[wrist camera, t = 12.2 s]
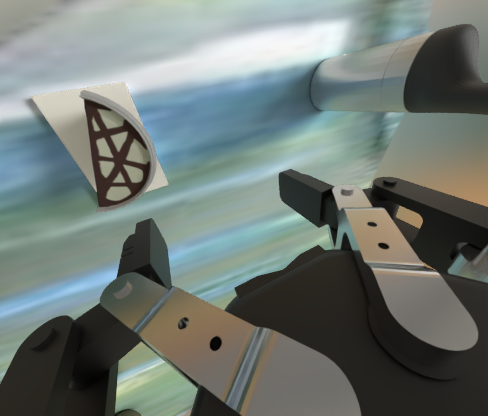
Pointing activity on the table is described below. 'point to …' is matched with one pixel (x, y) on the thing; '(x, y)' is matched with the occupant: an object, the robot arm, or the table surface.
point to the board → (75, 124)
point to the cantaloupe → (129, 413)
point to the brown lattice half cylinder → (118, 152)
